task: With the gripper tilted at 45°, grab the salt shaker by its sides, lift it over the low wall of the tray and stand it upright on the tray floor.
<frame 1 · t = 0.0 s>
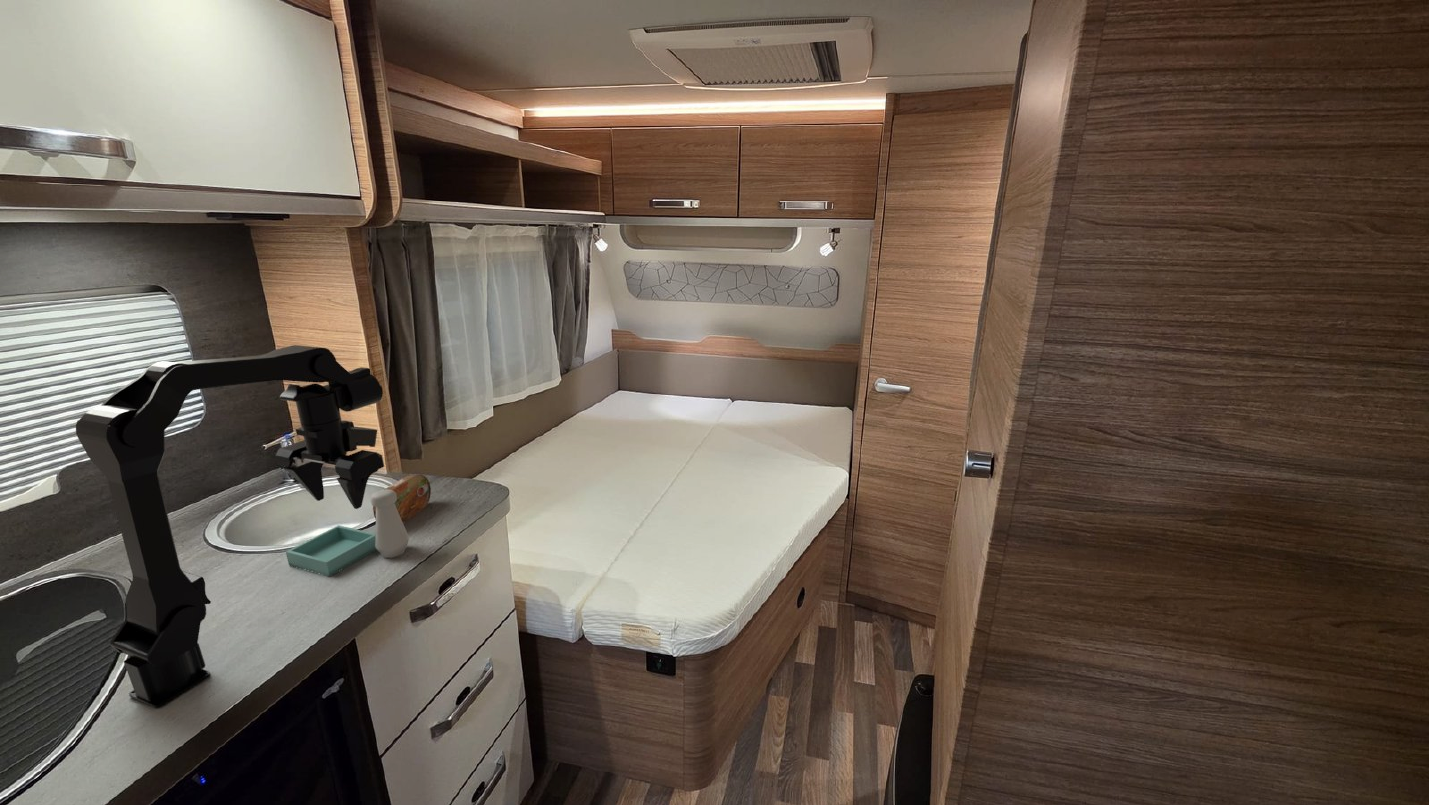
hand: (339, 503, 102), 15 cm above the countertop, tool pointing down, fingers open, 9 cm apart
tin: (406, 517, 129), on the countertop
tray: (335, 556, 113), on the countertop
salt shaker: (394, 553, 115), on the countertop
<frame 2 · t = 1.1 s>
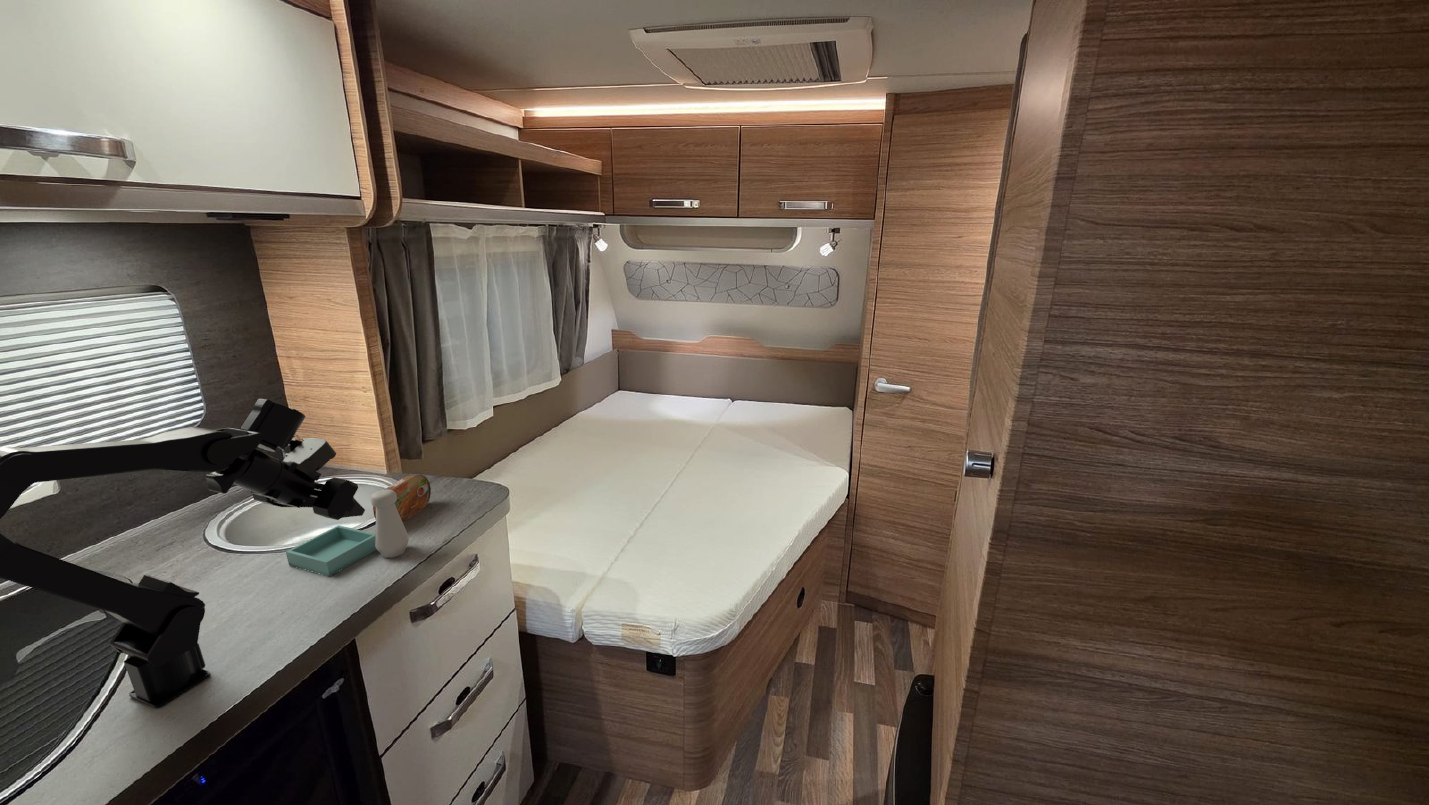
hand: (344, 508, 103), 13 cm above the countertop, tool tilted 45°, fingers open, 9 cm apart
nothing on the countertop moved.
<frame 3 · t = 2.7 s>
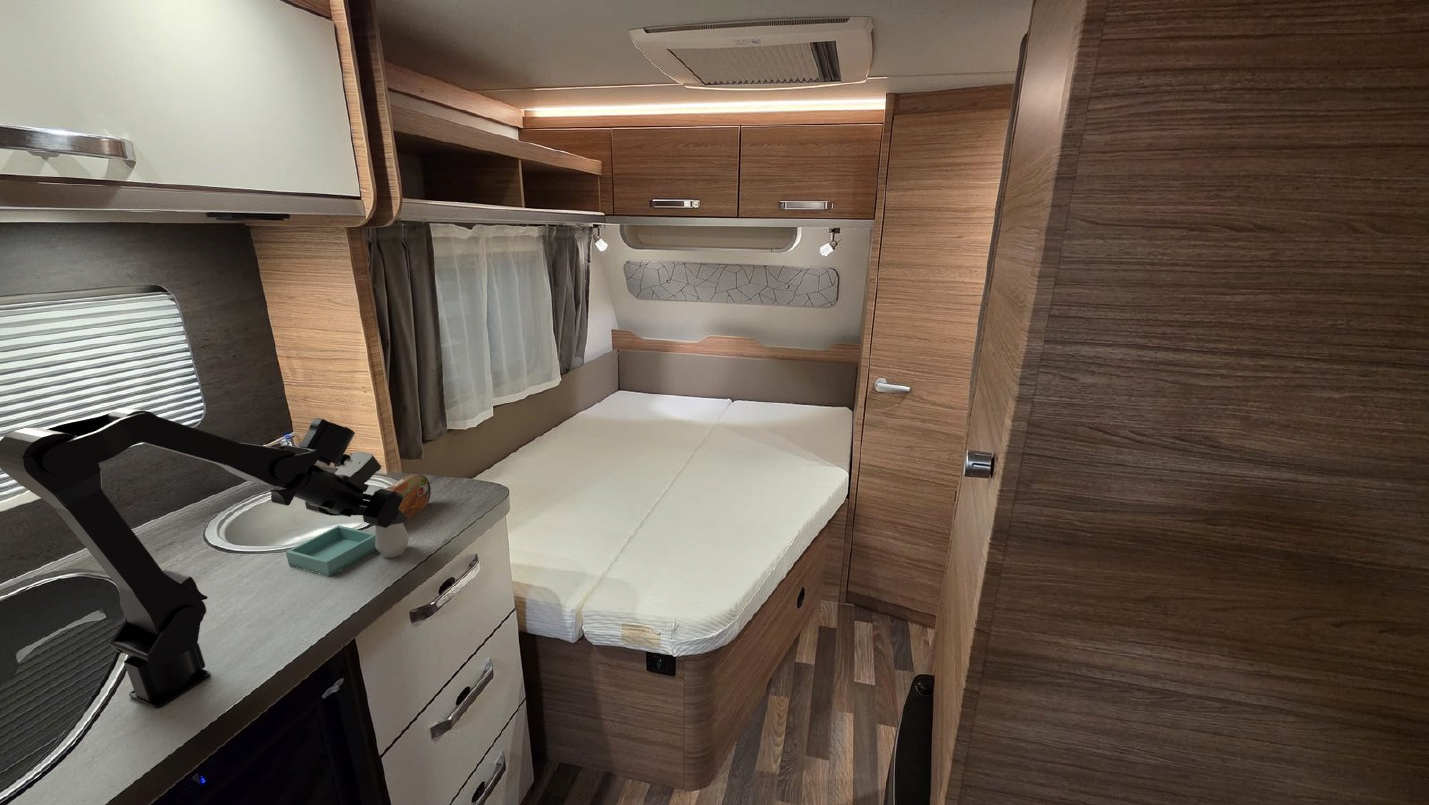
hand: (387, 516, 112), 8 cm above the countertop, tool tilted 45°, fingers open, 9 cm apart
nothing on the countertop moved.
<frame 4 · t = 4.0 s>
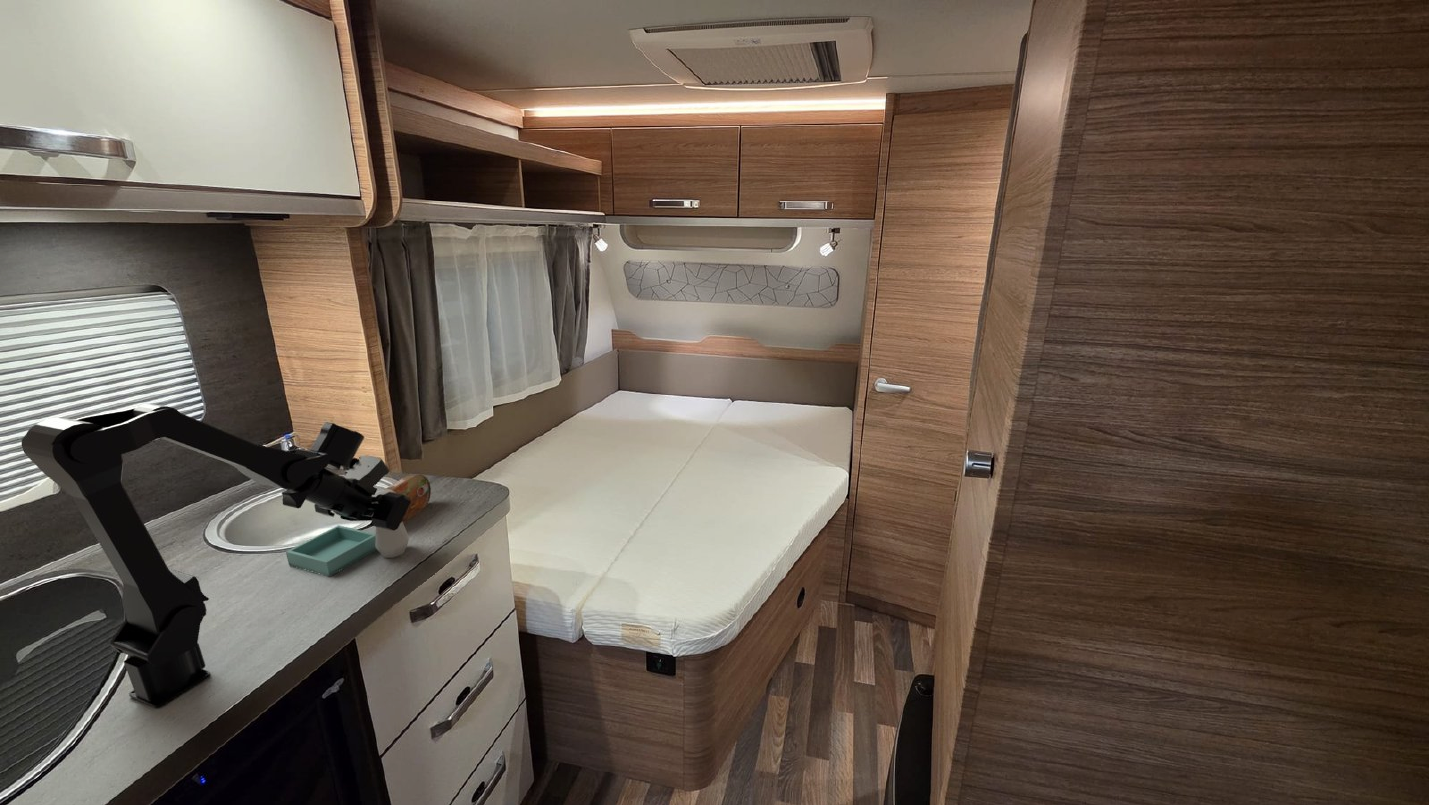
hand: (394, 519, 114), 7 cm above the countertop, tool tilted 45°, fingers closed on salt shaker, 3 cm apart
salt shaker: (394, 553, 115), on the countertop, touching gripper
everything else where it was.
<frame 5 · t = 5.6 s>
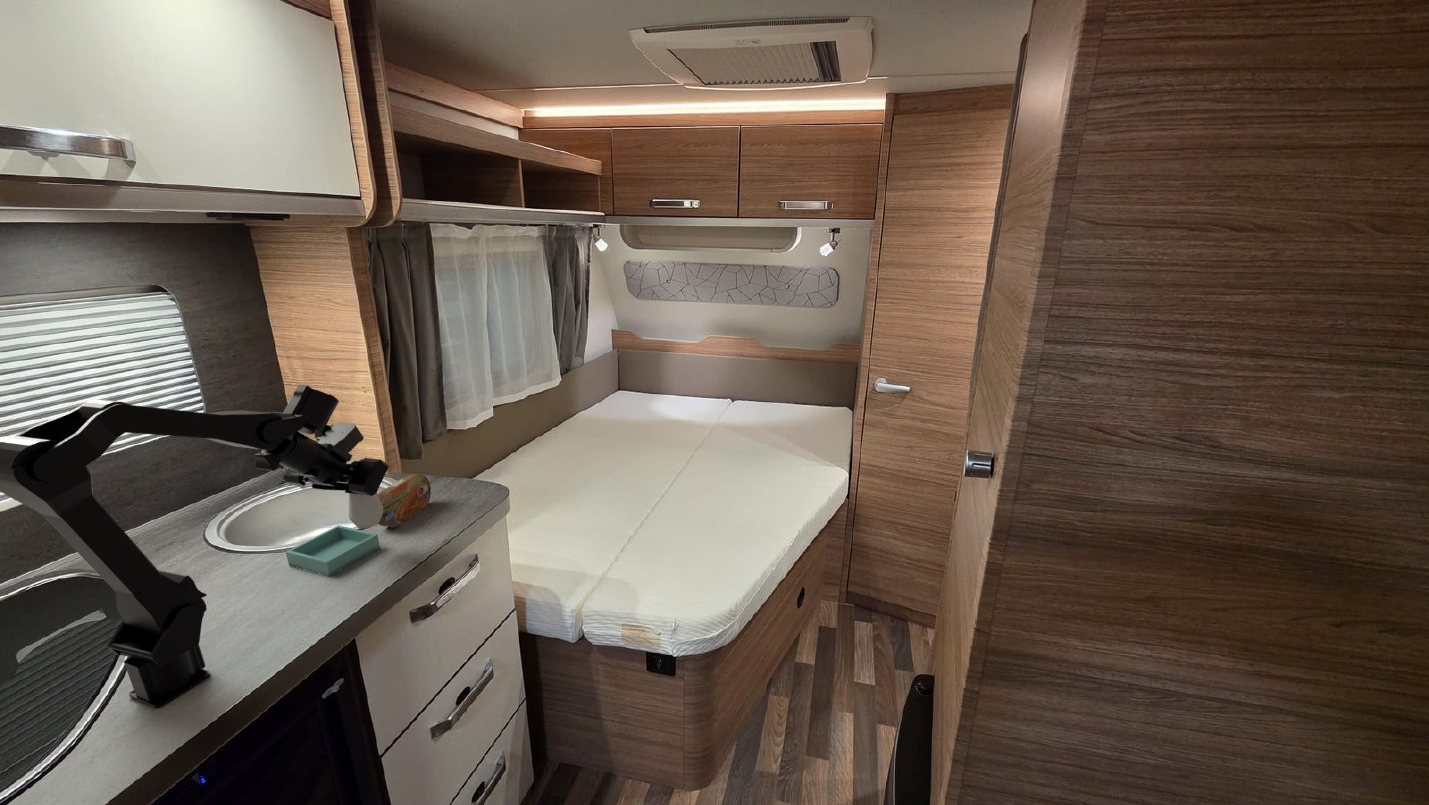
hand: (368, 489, 112), 13 cm above the countertop, tool tilted 45°, fingers closed on salt shaker, 3 cm apart
salt shaker: (368, 524, 112), point 6 cm above the countertop, touching gripper
everything else where it was.
when the fingers open (8 cm above the countertop, at t = 7.6 s): salt shaker drops 1 cm, resting on tray.
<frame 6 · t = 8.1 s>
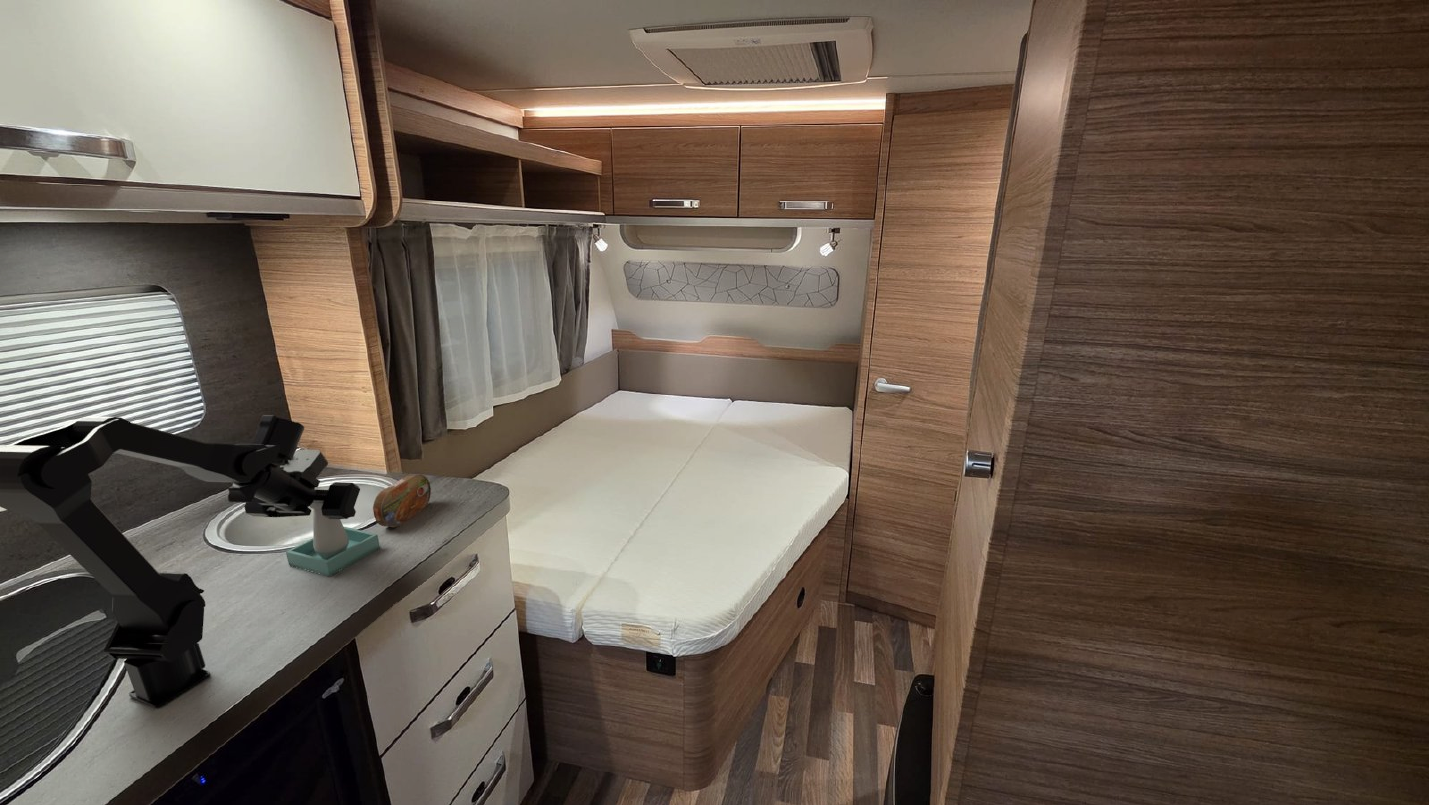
hand: (332, 513, 112), 9 cm above the countertop, tool tilted 45°, fingers open, 9 cm apart
salt shaker: (334, 555, 113), resting on tray
everything else where it was.
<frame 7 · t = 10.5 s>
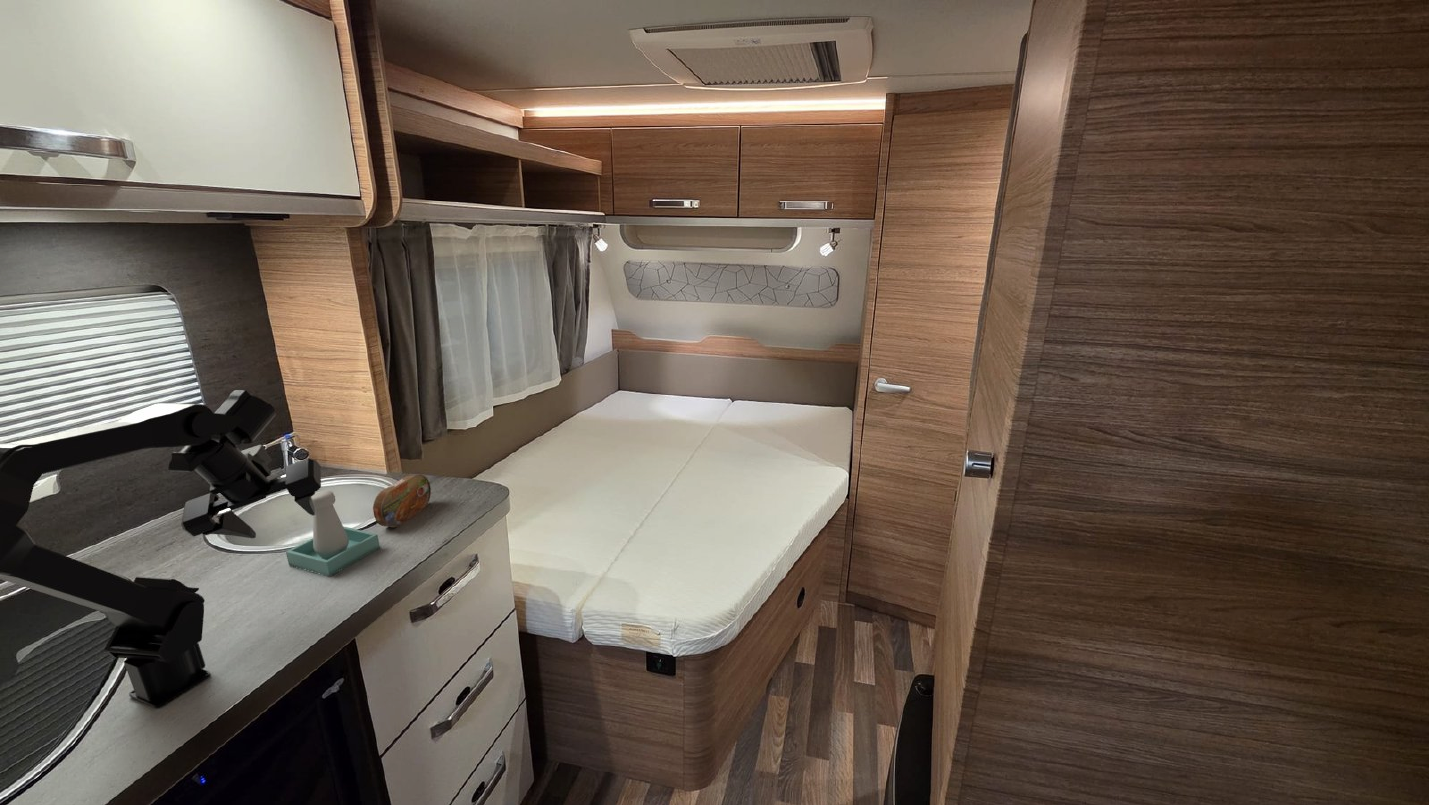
hand: (284, 524, 99), 13 cm above the countertop, tool tilted 30°, fingers open, 9 cm apart
nothing on the countertop moved.
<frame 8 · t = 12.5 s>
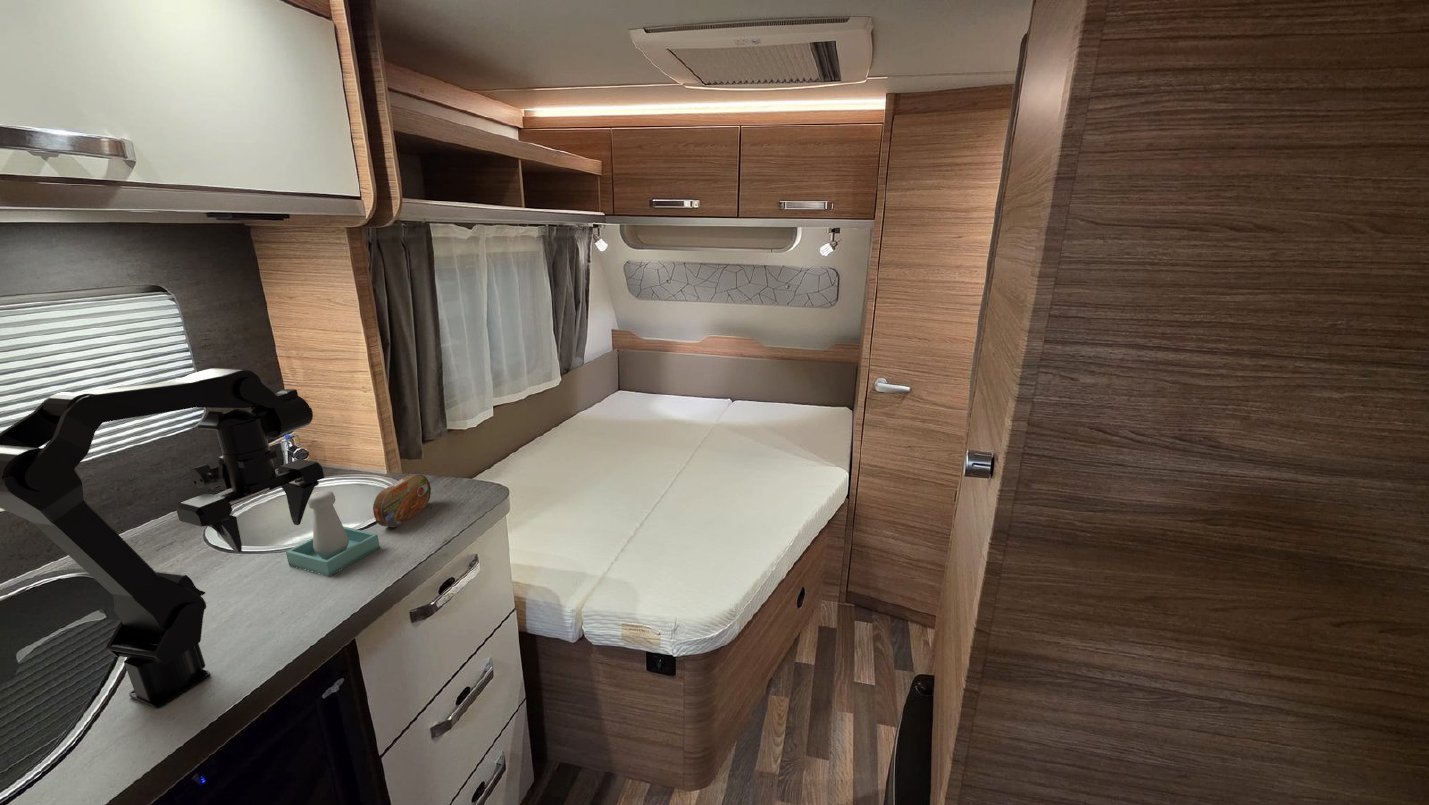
hand: (268, 537, 95), 13 cm above the countertop, tool pointing down, fingers open, 9 cm apart
nothing on the countertop moved.
at the end: salt shaker 0.3 cm off-centre on the tray, point 0.4 cm above the tray's base; salt shaker tilted 0°; the gripper is holding nothing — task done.
